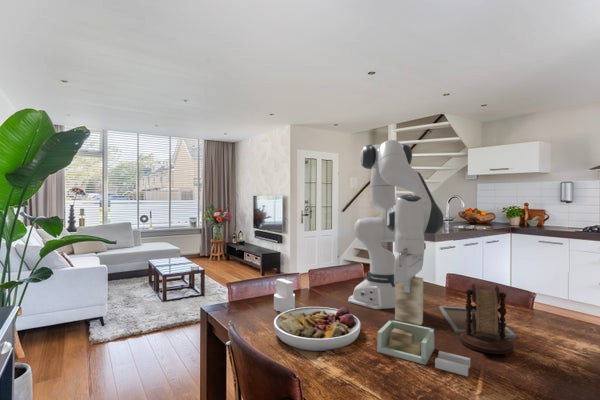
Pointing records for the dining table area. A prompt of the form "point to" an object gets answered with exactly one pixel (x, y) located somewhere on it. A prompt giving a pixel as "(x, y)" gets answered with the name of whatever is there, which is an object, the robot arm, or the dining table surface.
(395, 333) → the offcut short
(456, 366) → the holder
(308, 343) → the bowl
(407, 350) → the offcut long
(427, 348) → the box
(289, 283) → the base with upright slab
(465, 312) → the framed board
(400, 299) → the beige streaked board
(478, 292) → the scroll
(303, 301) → the dining table surface
